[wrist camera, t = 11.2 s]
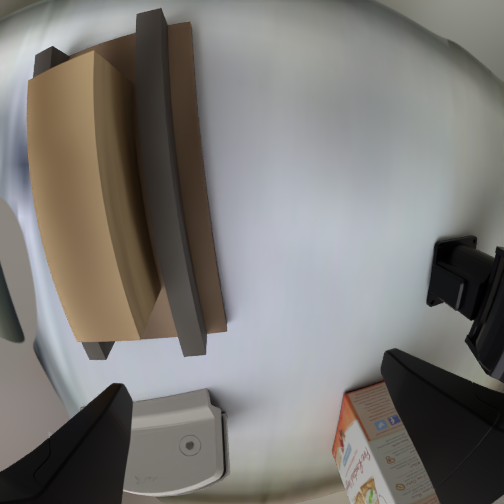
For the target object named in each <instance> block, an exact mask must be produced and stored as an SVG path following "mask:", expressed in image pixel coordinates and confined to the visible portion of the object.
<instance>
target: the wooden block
mask: <svg viewBox="0 0 504 504" xmlns="http://www.w3.org/2000/svg"><path fill="white" fill-rule="evenodd" d="M27 145H28V159H29V170H30V179H31V186H32V193H33V200H34V206H35V211H36V216H37V221H38V226H39V231H40V235H41V239H42V243H43V247H44V251H45V255H46V258H47V262H48V265H49V269H50V272H51V275H52V278H53V282H54V285H55V288H56V290H57V293H58V296H59V299H60V302H61V304H62V307H63V310H64V312H65V315H66V317H67V320H68V322H69V325H70V327H71V329H72V332H73V334H74V336H75V338H76V341H77V342H108V341H132V340H141V338H142V335H143V333H144V330H145V327H146V325H147V322H148V320H149V318H150V315H151V313H152V310H153V308H154V305H155V303H156V301H157V298H158V296H159V294H160V291H161V285H160V281H159V277H158V272H157V268H156V264H155V259H154V255H153V250H152V245H151V240H150V235H149V230H148V225H147V219H146V213H145V208H144V201H143V195H142V189H141V182H140V175H139V167H138V159H137V150H136V141H135V130H134V118H133V102H132V82H131V81H130V80H128V79H127V78H126V77H125V76H124V75H123V74H122V73H120V72H119V71H118V70H117V69H116V68H115V67H114V66H112V65H111V64H110V63H109V62H108V61H107V60H105V59H104V58H103V57H102V56H101V55H99V54H98V53H97V52H96V51H95V50H93V51H91V52H88V53H85V54H83V55H80V56H78V57H76V58H73V59H71V60H69V61H66V62H64V63H62V64H60V65H58V66H55V67H53V68H51V69H49V70H47V71H45V72H43V73H41V74H40V75H38V76H36V77H34V78H32V79H30V80H29V81H28V93H27Z"/></svg>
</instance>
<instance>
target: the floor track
mask: <svg viewBox="0 0 504 504" xmlns="http://www.w3.org/2000/svg"><path fill="white" fill-rule="evenodd" d="M93 50H95V51H96V52H97V53H98V54H99V55H101V56H102V57H103V58H104V59H105V60H107V61H108V62H109V63H110V64H111V65H112V66H114V67H115V68H116V69H117V70H118V71H119V72H120V73H122V74H123V75H124V76H125V77H126V78H127V79H128V80H130V81H131V82H132V102H133V118H134V130H135V141H136V150H137V159H138V167H139V175H140V182H141V189H142V195H143V201H144V208H145V213H146V219H147V225H148V230H149V235H150V240H151V245H152V250H153V255H154V259H155V264H156V268H157V272H158V277H159V281H160V285H161V291H160V294H159V296H158V298H157V301H156V303H155V305H154V308H153V310H152V313H151V315H150V318H149V320H148V322H147V325H146V327H145V330H144V333H143V335H142V338H141V339H154V338H168V337H178V338H179V342H180V345H181V349H182V352H183V355H184V357H187V356H199V355H206V343H207V334H210V333H218V332H227V323H226V317H225V311H224V305H223V299H222V293H221V287H220V281H219V275H218V268H217V262H216V255H215V248H214V242H213V235H212V228H211V220H210V213H209V205H208V198H207V190H206V182H205V174H204V165H203V156H202V147H201V138H200V128H199V118H198V108H197V97H196V85H195V72H194V59H193V44H192V28H191V23H190V22H185V23H179V24H173V25H167V22H166V19H165V17H164V14H163V11H162V9H161V8H160V9H155V10H151V11H147V12H143V13H139V14H137V18H136V33H134V34H130V35H127V36H123V37H120V38H117V39H114V40H110V41H107V42H104V43H102V44H99V45H96V46H93V47H91V48H88V49H85V50H83V51H80V52H78V53H76V54H73V55H71V56H68V55H66V54H65V53H63V52H61V51H60V50H58V49H57V48H55V47H53V46H52V47H50V48H48V49H46V50H44V51H42V52H40V53H38V54H37V55H36V56H35V64H34V73H33V78H34V77H36V76H38V75H40V74H41V73H43V72H45V71H47V70H49V69H51V68H53V67H55V66H58V65H60V64H62V63H64V62H66V61H69V60H71V59H73V58H76V57H78V56H80V55H83V54H85V53H88V52H91V51H93ZM114 343H115V341H108V342H82V345H83V347H84V349H85V351H86V353H87V355H88V357H89V359H90V360H106V359H107V357H108V355H109V353H110V351H111V349H112V347H113V345H114Z"/></svg>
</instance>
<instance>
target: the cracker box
mask: <svg viewBox="0 0 504 504" xmlns="http://www.w3.org/2000/svg"><path fill="white" fill-rule="evenodd" d="M332 454H333V457H334V459H335V462H336V464H337V467H338V470H339V473H340V476H341V479H342V481H343V484H344V487H345V490H346V492H347V495H348V498H349V501H350V504H440V502H439V500H438V497H437V495H436V493H435V490H434V488H433V486H432V483H431V481H430V479H429V477H428V474H427V472H426V470H425V468H424V466H423V464H422V462H421V459H420V457H419V455H418V453H417V451H416V449H415V447H414V445H413V443H412V441H411V439H410V437H409V435H408V433H407V431H406V429H405V427H404V425H403V423H402V421H401V419H400V417H399V415H398V413H397V411H396V409H395V407H394V405H393V402H392V400H391V397H390V395H389V392H388V389H387V387H386V384H385V382H381V383H378V384H375V385H372V386H369V387H366V388H363V389H359V390H356V391H353V392H349V393H346V394H344V396H343V403H342V408H341V414H340V418H339V423H338V428H337V433H336V437H335V441H334V446H333V450H332Z"/></svg>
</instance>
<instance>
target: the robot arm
mask: <svg viewBox="0 0 504 504" xmlns="http://www.w3.org/2000/svg"><path fill="white" fill-rule="evenodd" d="M476 244H477V237H475V236H473V235H472V236H466V237H461V238H455V239H449V240H444V241H438V242H437V243H436V245H435V249H434V258H433V266H432V273H431V280H430V286H429V292H428V297H427V305H428V306H430V307H432V306H435V305H438V304H441V303H444V302H445V303H446V304H447V305H449V306H450V307H451V308H453V309H454V310H456V311H459V312H460V313H461V314H463V315H464V316H465V317H467V318H468V319H469V320H470V321H472V320H474V322H473V325H472V327H471V330H470V332H469V334H468V335H467V337H466V339H465V342H466V344H467V345H468V347H469V348H470V350H471V351H472V353H473V354H474V356H475V357H476V359H477V361H478V362H479V364H480V365H481V367H482V369H483V370H484V371H485V373H486V374H487V375H489V376H490V377H493V378H495V379H497V380H499V381H501V382H503V383H504V247H498V246H497V247H496V251H495V253H496V255H495V258H494V257H492V256H490V255H488V254H485V253H483V252H481V251H479V250H477V249H476ZM439 247H440V248H439ZM381 374H382V377H383V379H384V382H385V384H386V387H387V389H388V392H389V395H390V397H391V400H392V402H393V405H394V407H395V409H396V411H397V413H398V415H399V417H400V419H401V421H402V423H403V425H404V427H405V429H406V431H407V433H408V435H409V437H410V439H411V441H412V443H413V445H414V447H415V449H416V451H417V453H418V455H419V457H420V459H421V462H422V464H423V466H424V468H425V470H426V472H427V474H428V477H429V479H430V481H431V483H432V486H433V488H434V490H435V493H436V495H437V497H438V500H439V502H440V504H504V393H501V392H497V391H494V390H491V389H489V388H486V387H484V386H481V385H479V384H476V383H474V382H473V383H472V382H471V381H469V380H467V379H464V378H462V377H460V376H457V375H455V374H453V373H451V372H448V371H446V370H444V369H441V368H439V367H437V366H435V365H432V364H430V363H428V362H426V361H423V360H421V359H419V358H417V357H415V356H412V355H410V354H408V353H406V352H404V351H401V350H399V349H397V348H393V349H390V350H387V351H385V353H384V356H383V361H382V365H381ZM132 412H133V401H132V398H131V396H130V394H129V392H128V390H127V388H126V387H125V385H124V384H122V383H113V384H111V385H110V386H109V387H108V388H106V389H105V390H104V391H103V392H102V393H101V394H99V395H98V396H97V397H96V398H95V399H94V400H92V401H91V402H90V403H89V404H88V405H87V406H85V407H84V408H83V409H82V410H81V411H80V412H78V413H77V414H76V415H75V416H74V417H73V418H71V419H70V420H69V421H68V422H67V423H66V424H64V425H63V426H62V427H61V428H60V429H59V430H57V431H56V432H55V433H54V434H53V435H51V436H50V438H48V439H47V440H45V441H44V442H43V443H42V444H41V445H39V446H38V447H37V448H36V449H34V450H33V451H32V452H30V453H29V454H27V455H26V456H25V457H23V458H22V459H20V460H19V461H17V462H16V463H14V464H13V465H11V466H9V467H8V468H6V469H5V470H3V471H1V472H0V504H121V502H122V494H123V486H124V478H125V471H126V465H127V459H128V453H129V447H130V440H131V425H132Z"/></svg>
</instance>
